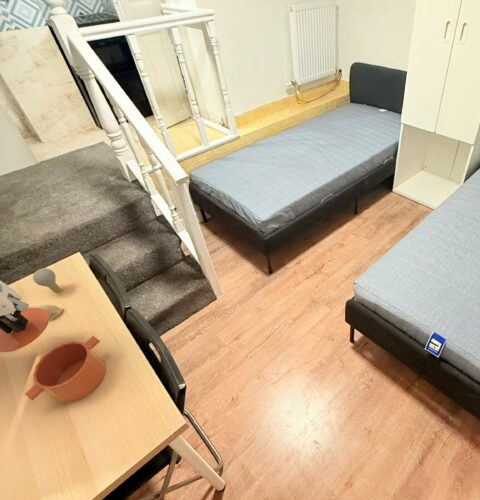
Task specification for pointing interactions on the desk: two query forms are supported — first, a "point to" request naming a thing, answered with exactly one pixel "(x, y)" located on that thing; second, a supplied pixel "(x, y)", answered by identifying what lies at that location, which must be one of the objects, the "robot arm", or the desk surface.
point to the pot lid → (22, 338)
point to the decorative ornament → (50, 310)
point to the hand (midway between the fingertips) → (18, 327)
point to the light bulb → (46, 279)
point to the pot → (68, 372)
